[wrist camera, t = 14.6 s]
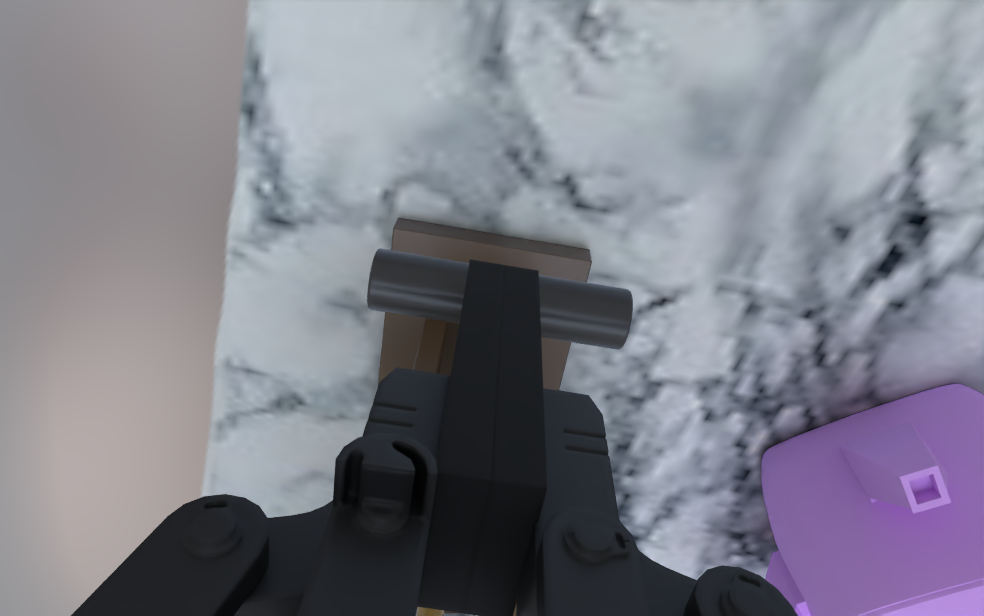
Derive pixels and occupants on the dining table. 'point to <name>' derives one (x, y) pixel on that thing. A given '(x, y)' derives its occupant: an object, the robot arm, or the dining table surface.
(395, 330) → the switch bracket
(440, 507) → the robot arm
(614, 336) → the switch lever
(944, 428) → the teakettle
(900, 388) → the dining table surface
